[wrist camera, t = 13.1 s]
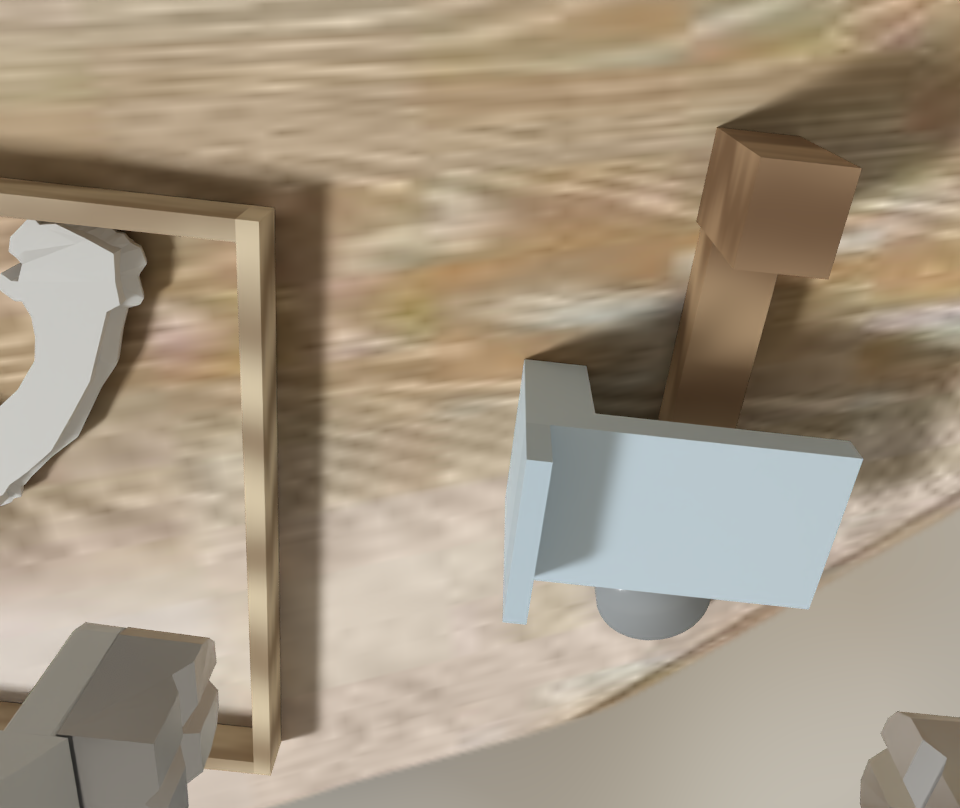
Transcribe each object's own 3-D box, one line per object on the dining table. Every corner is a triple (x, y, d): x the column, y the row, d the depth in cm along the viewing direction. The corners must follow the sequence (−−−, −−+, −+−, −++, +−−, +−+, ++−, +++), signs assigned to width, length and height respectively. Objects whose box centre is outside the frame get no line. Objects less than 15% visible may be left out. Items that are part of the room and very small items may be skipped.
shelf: (524, 359, 40) (526, 459, 31) (812, 390, 40) (893, 499, 31) (505, 498, 43) (502, 622, 35) (769, 526, 43) (831, 656, 35)
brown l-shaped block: (717, 127, 34) (760, 157, 28) (799, 136, 35) (861, 168, 28) (641, 471, 42) (662, 555, 36) (709, 478, 42) (742, 563, 36)
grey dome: (597, 525, 44) (601, 548, 42) (710, 530, 44) (718, 553, 42) (589, 613, 47) (591, 637, 45) (695, 617, 47) (702, 642, 45)
